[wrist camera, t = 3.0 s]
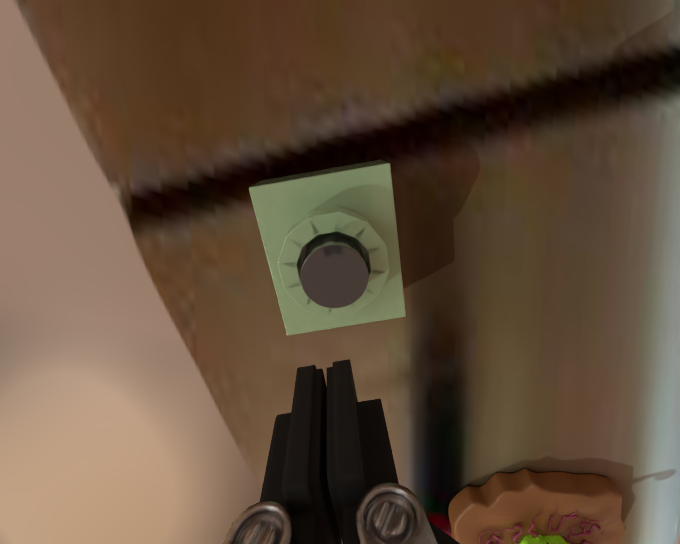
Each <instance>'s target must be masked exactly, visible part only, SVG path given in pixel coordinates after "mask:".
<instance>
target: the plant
mask: <svg viewBox="0 0 680 544" xmlns="http://www.w3.org/2000/svg"><path fill="white" fill-rule="evenodd" d="M622 499H623V496H622V495H621V493H620V492H619V491H618V489H617V488H616V487H615V486H614V484H613V483H612V482H611V480H610V479H609V478H608V477H602V476H599V475H596V474H577V475H576V474H570V473H566V472H544V473H534V472H530V471H528V470H527V469H522V470H520V471H518V472H516V473H511V474H508V473H496V474H494V475H493V476H491V477H490V479H489V480H488V481H487V482H486V483H485V484H484V485H483V486H480V487H472V486H467V487H465V488H464V489H462V490H461V491H460V492H459V493H458V494H457V495H456V496H455V497H454V498H453V499H452V501H451V502H450V505H449V519H450V524H451V529H452V532H451V537H452V538H453V539H455V540H456V541H458V542H459V543H460V544H618V543H619V541H620V540H621V538H622V536H623V534H624V531H625V528H626V527H625V525H624V523H623V521H622V520H621V510H622Z"/></svg>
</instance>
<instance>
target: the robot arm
mask: <svg viewBox="0 0 680 544" xmlns="http://www.w3.org/2000/svg"><path fill="white" fill-rule="evenodd" d="M341 539H342V541H341ZM342 543H343V544H460V543H459V542H458V541H456V540H455V539H453V538H452V537H451V536H449V535H448V534H446V533H445V532H443V531H442V530H441V529H439V528H438V527H436V526H435V525H434V524H432V523H431V522H429V521H428V520H427V517H426V515H425V512H424V510H423V508H422V505H421V504H420V502H419V500H418V499H417V497H416V495H414V494H413V493H412V492H411V491H410V490H409V489H408V488H406V487H404V486H402V485H400V484H399V483H398V478H397V474H396V469H395V464H394V459H393V455H392V450H391V445H390V441H389V436H388V431H387V426H386V422H385V417H384V412H383V408H382V403H381V399H375V400H369V401H362V402H358V401H357V396H356V390H355V385H354V379H353V374H352V369H351V363H350V359H349V360H343V361H337V362H333V367H329V368H327V387H326V382H325V378H324V374H323V370H322V369H316V366H315V365H312V366H306V367H300V368H298V369H297V375H296V382H295V390H294V397H293V405H292V412H291V413H287V414H280V415H277V417H276V420H275V424H274V430H273V435H272V440H271V445H270V451H269V456H268V461H267V466H266V472H265V477H264V482H263V488H262V493H261V499H260V502H259V503H256V504H254V505H252V506H250V507H248V508H247V509H246V510H245V511H243V512H242V513H241V514H240V515H239V516H238V517H237V519H236V520H235V521H234V522H233V523H232V525H231V527H230V529H229V531H228V533H227V535H226V538H225V540H224V543H223V544H342Z"/></svg>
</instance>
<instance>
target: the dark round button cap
mask: <svg viewBox="0 0 680 544" xmlns="http://www.w3.org/2000/svg"><path fill="white" fill-rule="evenodd" d="M368 279H369V274H368V268H367V265H366V261H365V258H364V255H363V253H362V251H361V249H360V248H359V247H358V246H357V245H356V244H355V243H354V242H353V241H351V240H350V239H347V238H345V237H342V236H327V237H323V238H321V239H319V240H317V241H315V242H314V243H313V244H312V245H311V246H310V247H309V248H308V249H307V251H306V253H305V255H304V258H303V263H302V267H301V272H300V281H301V285H302V288H303V290H304V292H305V294H306V295H307V296H308V297H309V298H310V299H311V300H312V301H313V302H315V303H316V304H318V305H320V306H323V307H327V308H341V307H345V306H348V305H350V304H352V303H354V302H355V301H357V300H358V299H359V298H360V297H361V296H362V294H363V293H364V291H365V290H366V287H367V285H368Z"/></svg>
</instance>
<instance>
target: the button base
mask: <svg viewBox="0 0 680 544" xmlns="http://www.w3.org/2000/svg"><path fill="white" fill-rule="evenodd" d="M249 191H250V195H251V199H252V203H253V207H254V210H255V214H256V218H257V222H258V226H259V229H260V233H261V237H262V241H263V245H264V249H265V252H266V256H267V260H268V264H269V268H270V271H271V275H272V279H273V283H274V287H275V290H276V294H277V298H278V302H279V306H280V310H281V313H282V317H283V321H284V325H285V329H286V332H287V335H293V334H299V333H305V332H312V331H318V330H324V329H331V328H337V327H343V326H349V325H356V324H362V323H368V322H375V321H381V320H387V319H393V318H400V317H405V316H406V311H405V301H404V291H403V282H402V272H401V263H400V253H399V243H398V234H397V224H396V215H395V205H394V195H393V186H392V176H391V167H390V163H388V162H385V161H382V160H376V161H370V162H365V163H359V164H353V165H348V166H342V167H336V168H331V169H325V170H319V171H314V172H308V173H302V174H296V175H291V176H285V177H279V178H274V179H268V180H262V181H260V182H258V183H256V184H255V185H253V186H251V187H250V188H249ZM327 236H342V237H345V238H347V239H350V240H351V241H353V242H354V243H355V244H356V245H357V246H358V247H359V248H360V249H361V251H362V253H363V255H364V258H365V261H366V265H367V268H368V274H369V279H368V285H367V287H366V290H365V291H364V293H363V294H362V296H361V297H360V298H359V299H358V300H357V301H355V302H354V303H352V304H350V305H348V306H345V307H341V308H327V307H323V306H320V305H318V304H316V303H315V302H313V301H312V300H311V299H310V298H309V297H308V296H307V295H306V294H305V292H304V290H303V288H302V285H301V281H300V272H301V267H302V263H303V258H304V255H305V253H306V251H307V249H308V248H309V247H310V246H311V245H312V244H313V243H314V242H315V241H317V240H319V239H321V238H323V237H327Z"/></svg>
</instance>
